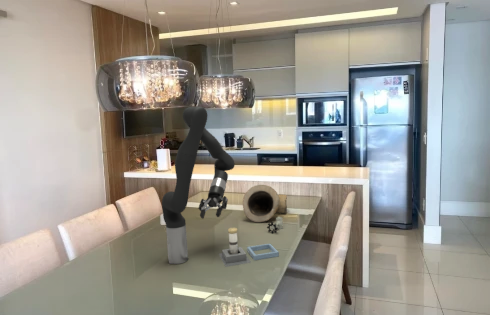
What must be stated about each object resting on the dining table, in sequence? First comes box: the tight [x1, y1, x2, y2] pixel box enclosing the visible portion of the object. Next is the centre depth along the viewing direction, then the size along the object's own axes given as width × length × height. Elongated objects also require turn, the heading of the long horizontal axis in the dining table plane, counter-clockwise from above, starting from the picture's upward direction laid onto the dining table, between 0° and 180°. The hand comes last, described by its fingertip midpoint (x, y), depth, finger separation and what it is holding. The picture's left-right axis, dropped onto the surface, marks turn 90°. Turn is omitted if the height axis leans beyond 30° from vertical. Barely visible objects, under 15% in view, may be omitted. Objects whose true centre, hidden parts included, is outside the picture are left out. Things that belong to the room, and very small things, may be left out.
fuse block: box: [218, 246, 252, 268], centre depth 173 cm, size 12×16×4 cm
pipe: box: [242, 184, 288, 223], centre depth 243 cm, size 23×29×30 cm
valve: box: [266, 216, 284, 235], centre depth 213 cm, size 7×7×12 cm
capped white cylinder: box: [227, 227, 239, 255], centre depth 172 cm, size 4×4×14 cm
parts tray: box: [246, 243, 280, 261], centre depth 177 cm, size 12×12×4 cm
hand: (209, 216), depth 174 cm, fingers open, 8 cm apart
